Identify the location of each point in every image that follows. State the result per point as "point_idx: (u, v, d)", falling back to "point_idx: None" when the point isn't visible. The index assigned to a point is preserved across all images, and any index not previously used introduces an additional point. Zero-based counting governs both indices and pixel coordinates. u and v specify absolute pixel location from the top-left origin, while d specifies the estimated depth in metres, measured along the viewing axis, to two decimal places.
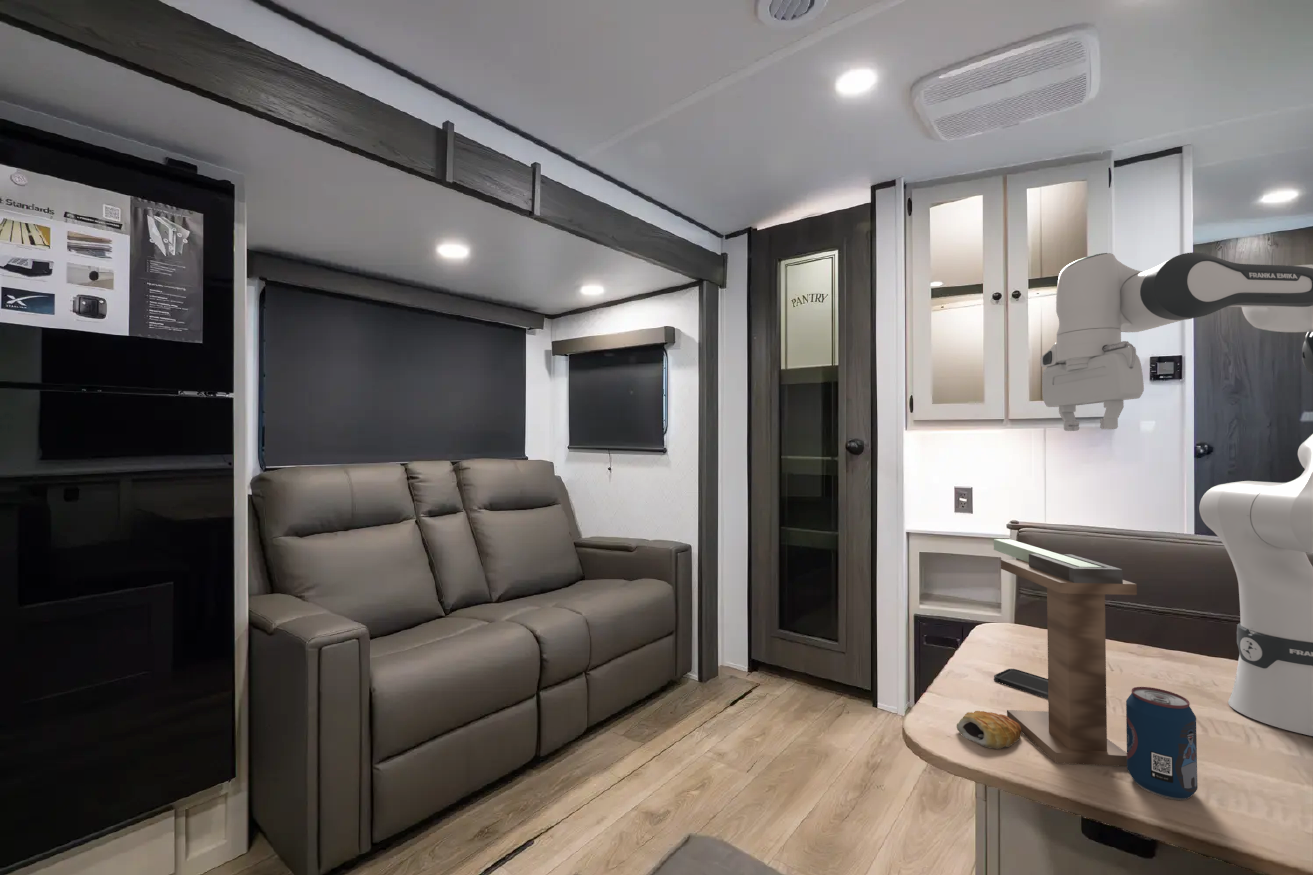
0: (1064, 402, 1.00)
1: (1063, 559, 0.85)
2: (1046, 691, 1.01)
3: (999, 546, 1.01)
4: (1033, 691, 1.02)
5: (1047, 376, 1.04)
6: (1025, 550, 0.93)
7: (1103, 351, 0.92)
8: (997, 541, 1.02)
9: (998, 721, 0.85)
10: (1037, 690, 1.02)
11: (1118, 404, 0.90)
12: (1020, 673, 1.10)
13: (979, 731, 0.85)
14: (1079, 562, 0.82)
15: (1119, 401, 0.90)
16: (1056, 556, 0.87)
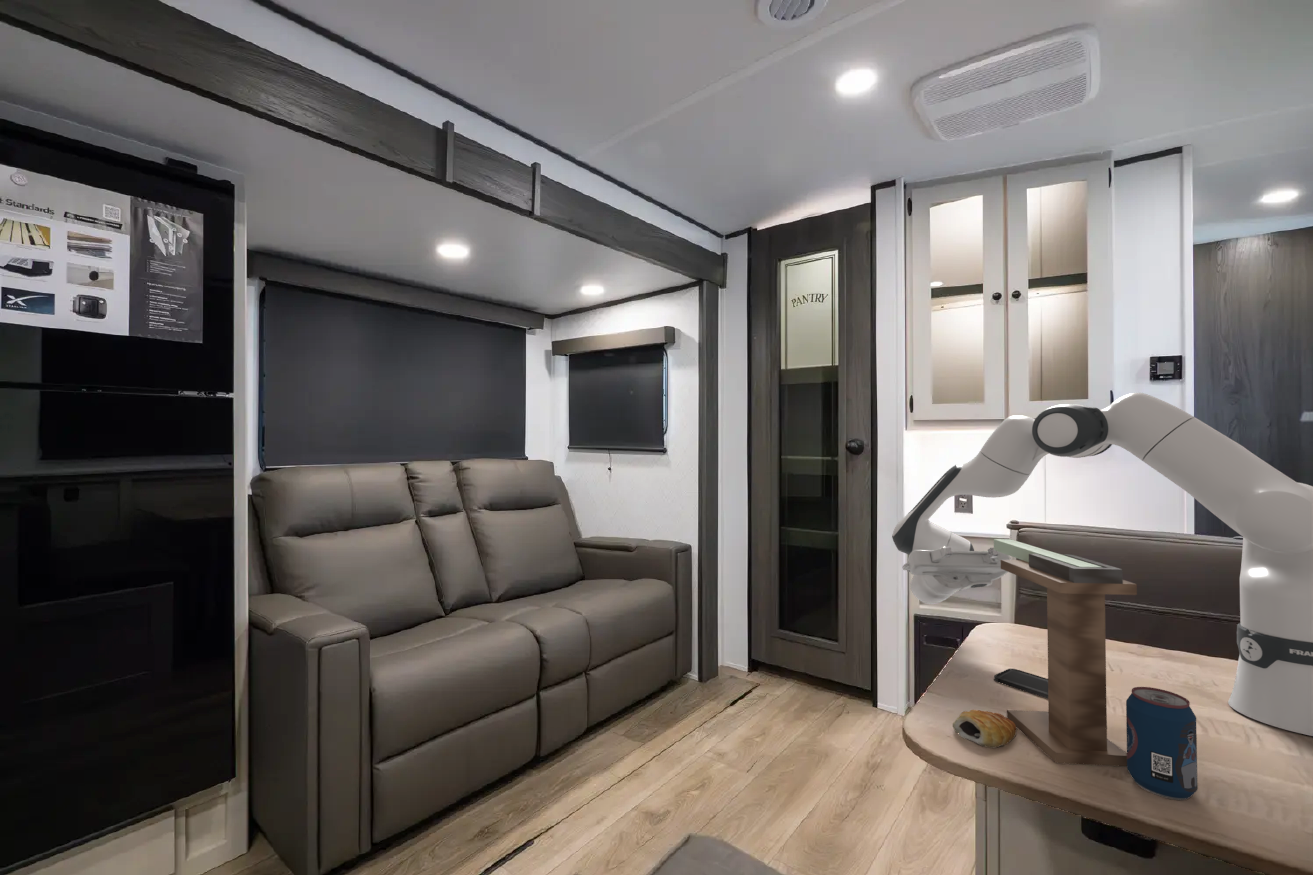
0: (982, 567, 1.18)
1: (1063, 559, 0.85)
2: (1046, 691, 1.01)
3: (999, 546, 1.01)
4: (1033, 691, 1.02)
5: (992, 577, 1.22)
6: (1025, 550, 0.93)
7: None
8: (997, 541, 1.02)
9: (994, 720, 0.86)
10: (1037, 690, 1.02)
11: (932, 554, 1.19)
12: (1020, 672, 1.10)
13: (975, 730, 0.85)
14: (1079, 562, 0.82)
15: (931, 555, 1.20)
16: (1056, 556, 0.87)
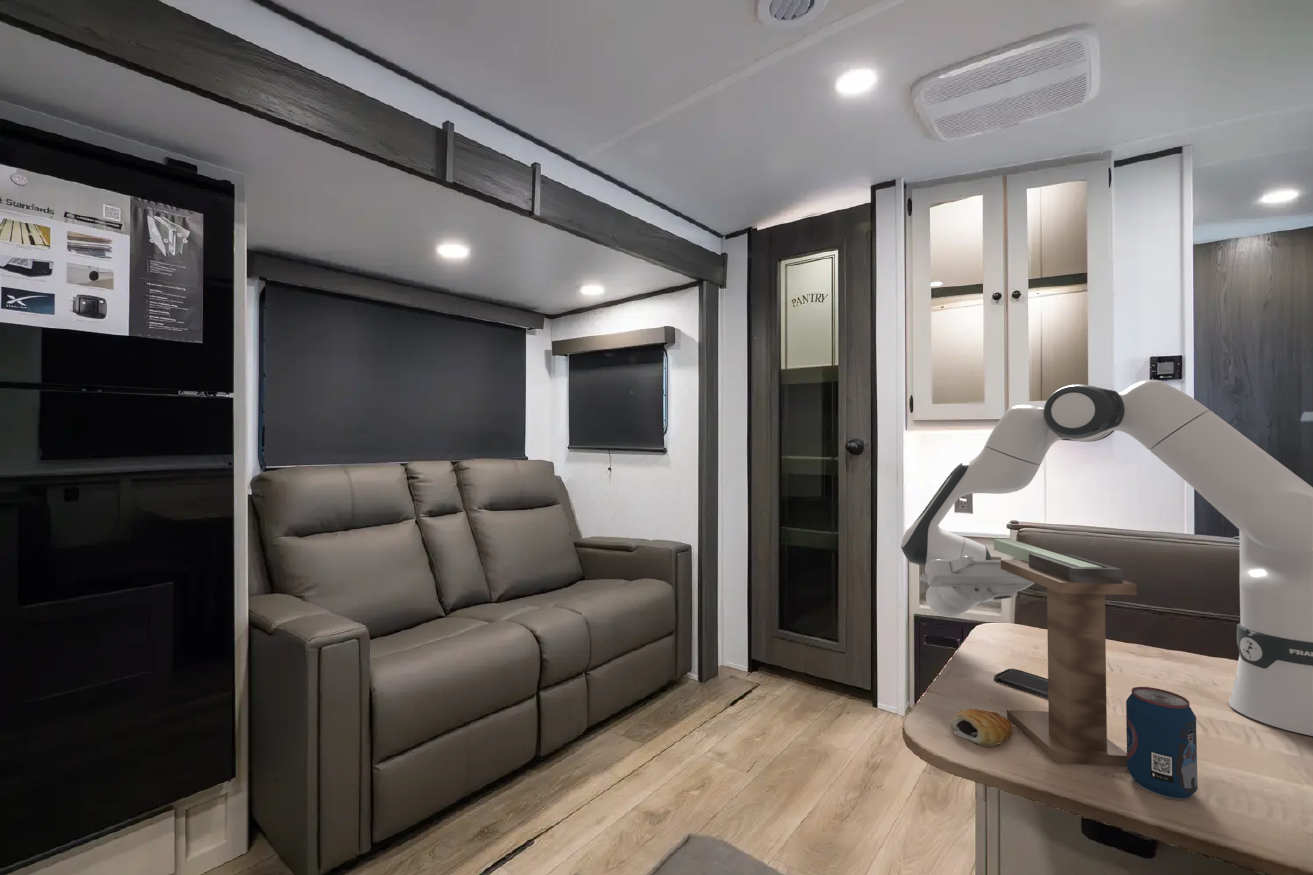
0: (1007, 577, 1.09)
1: (1063, 559, 0.85)
2: (1046, 691, 1.01)
3: (999, 546, 1.01)
4: (1033, 691, 1.02)
5: (1017, 588, 1.13)
6: (1025, 550, 0.93)
7: None
8: (997, 541, 1.02)
9: (991, 719, 0.86)
10: (1037, 690, 1.02)
11: (952, 564, 1.10)
12: (1020, 672, 1.10)
13: (973, 729, 0.85)
14: (1079, 562, 0.82)
15: (951, 565, 1.10)
16: (1056, 556, 0.87)
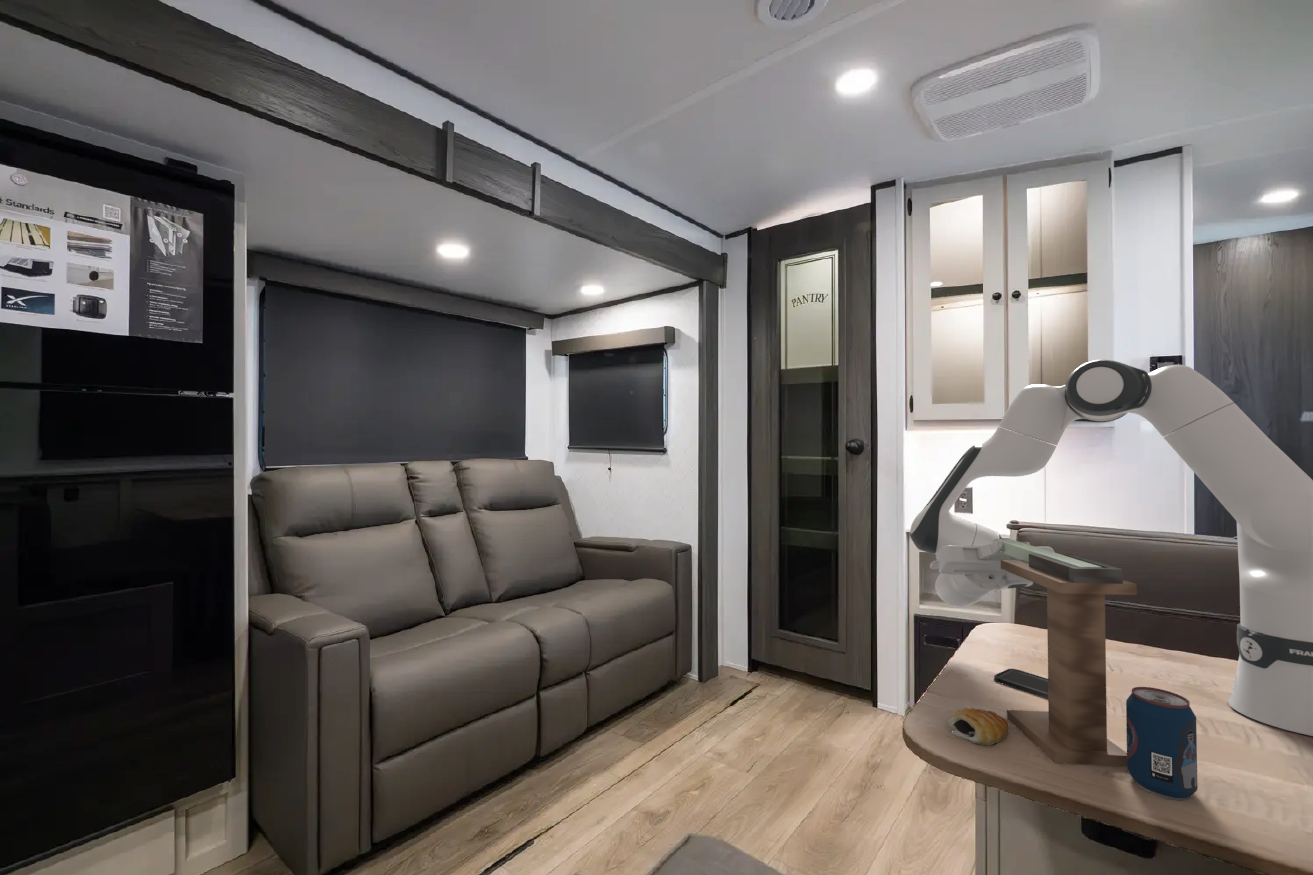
0: None
1: (1063, 559, 0.85)
2: (1046, 691, 1.01)
3: None
4: (1033, 691, 1.02)
5: None
6: (1025, 550, 0.93)
7: None
8: None
9: (988, 718, 0.86)
10: (1037, 690, 1.02)
11: (980, 551, 1.03)
12: (1020, 672, 1.10)
13: (970, 728, 0.86)
14: (1079, 562, 0.82)
15: (978, 551, 1.04)
16: (1056, 556, 0.87)
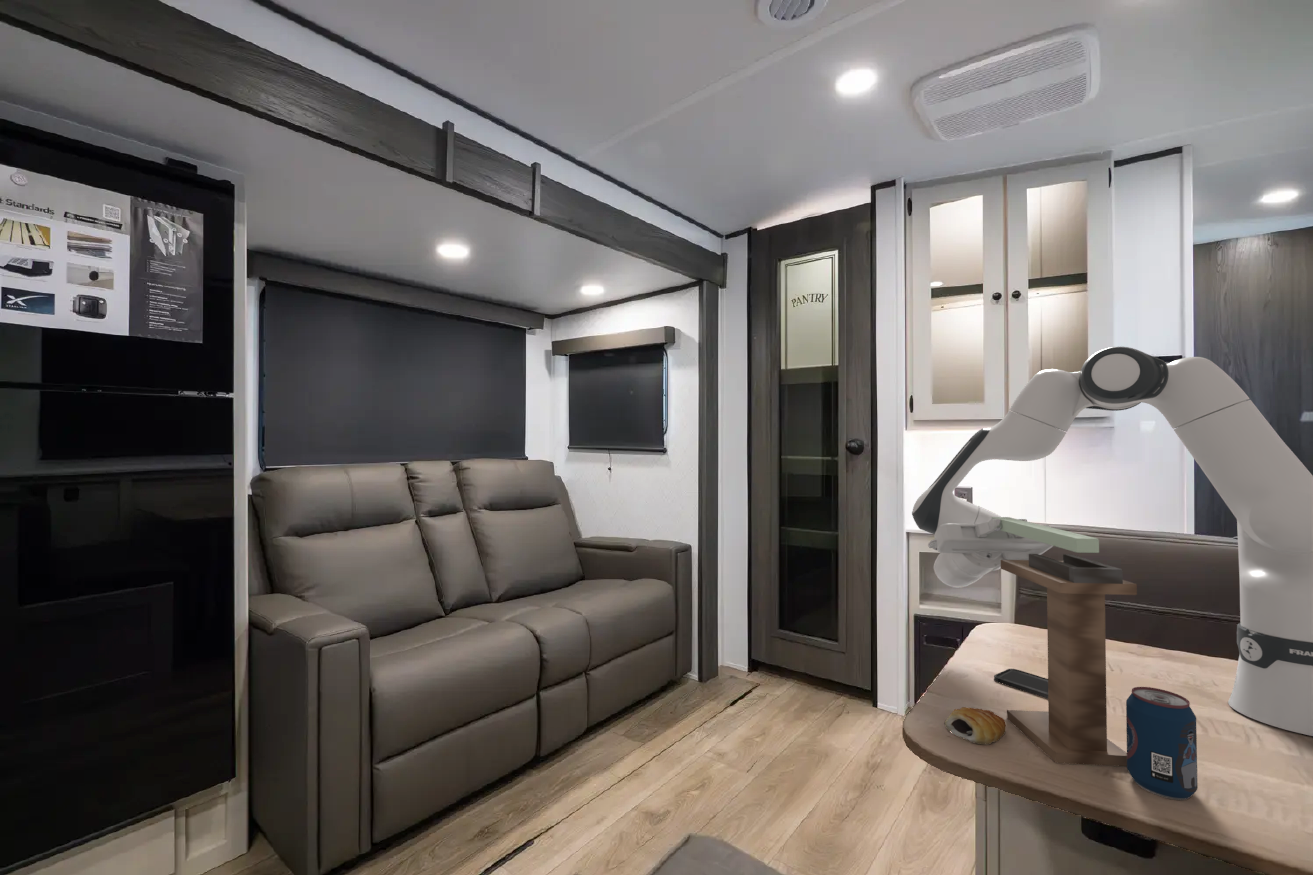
0: (1021, 542, 1.03)
1: (1060, 532, 0.85)
2: (1046, 691, 1.01)
3: None
4: (1033, 691, 1.02)
5: None
6: (1023, 526, 0.94)
7: None
8: None
9: (985, 717, 0.87)
10: (1037, 690, 1.02)
11: (978, 528, 1.04)
12: (1020, 672, 1.10)
13: (968, 728, 0.86)
14: (1076, 535, 0.83)
15: (976, 529, 1.05)
16: (1053, 530, 0.88)
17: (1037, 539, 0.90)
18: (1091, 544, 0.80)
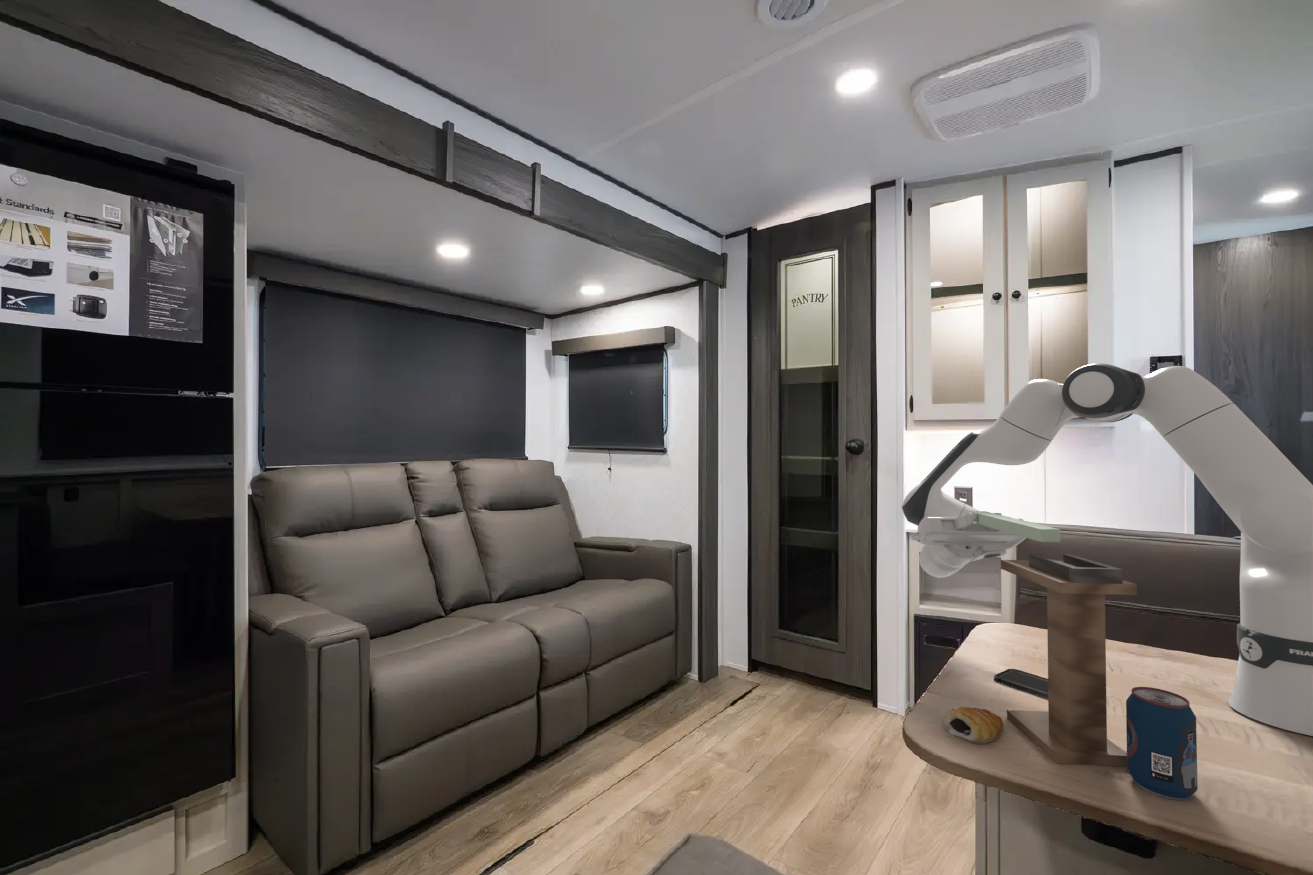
0: (996, 534, 1.12)
1: (1027, 524, 0.94)
2: (1046, 691, 1.02)
3: None
4: (1033, 691, 1.02)
5: (1007, 545, 1.16)
6: (996, 519, 1.02)
7: None
8: None
9: (983, 716, 0.87)
10: (1037, 690, 1.02)
11: (956, 522, 1.13)
12: (1020, 672, 1.10)
13: (966, 727, 0.86)
14: (1041, 526, 0.92)
15: (955, 522, 1.13)
16: (1022, 522, 0.96)
17: (1008, 530, 0.98)
18: (1053, 534, 0.89)
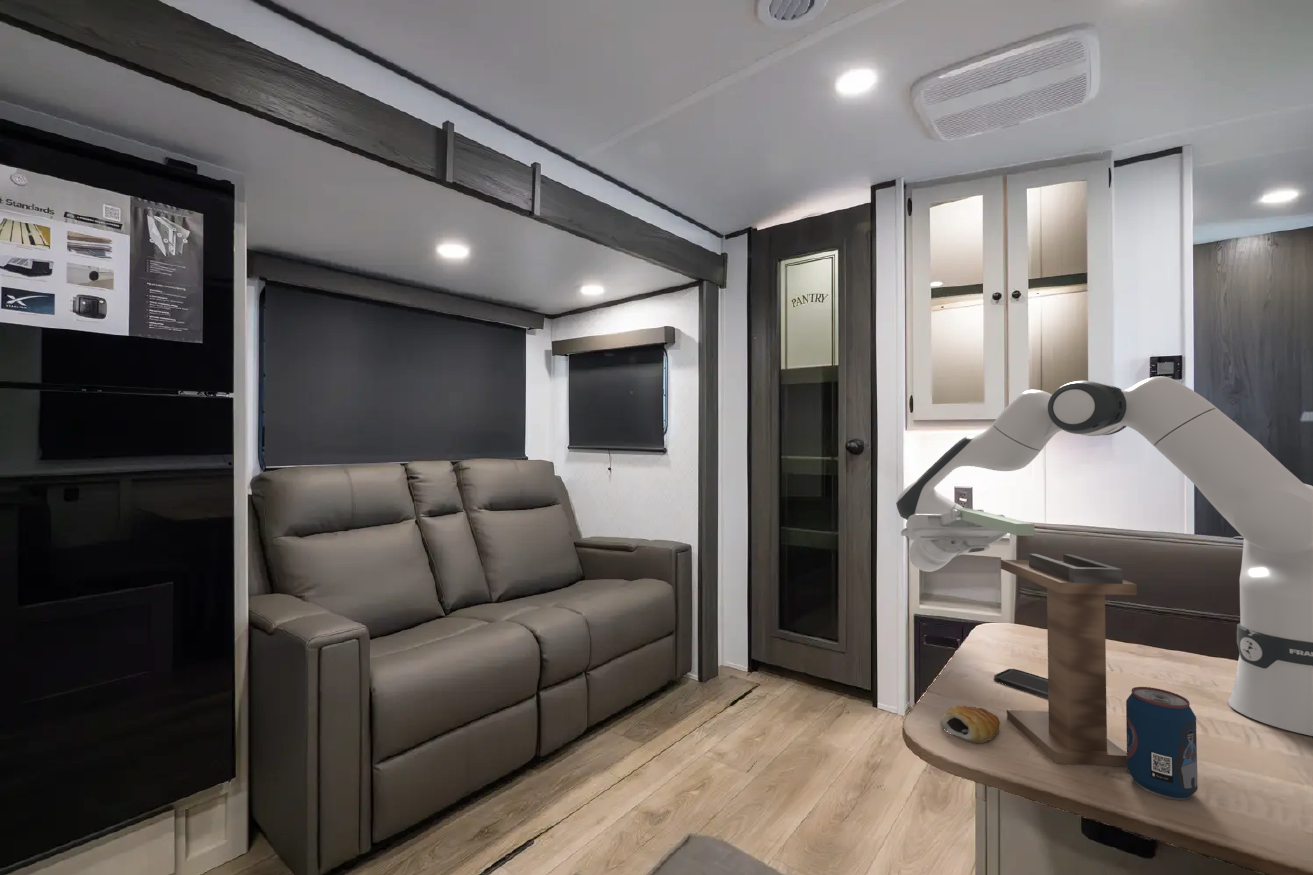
0: (979, 530, 1.19)
1: (1005, 519, 1.01)
2: (1046, 691, 1.02)
3: None
4: (1033, 691, 1.02)
5: (990, 540, 1.23)
6: (977, 515, 1.10)
7: None
8: None
9: (980, 715, 0.87)
10: (1037, 690, 1.02)
11: (942, 518, 1.20)
12: (1020, 672, 1.10)
13: (963, 726, 0.86)
14: (1017, 521, 0.99)
15: (941, 518, 1.20)
16: (1000, 518, 1.03)
17: (988, 525, 1.06)
18: (1028, 528, 0.96)
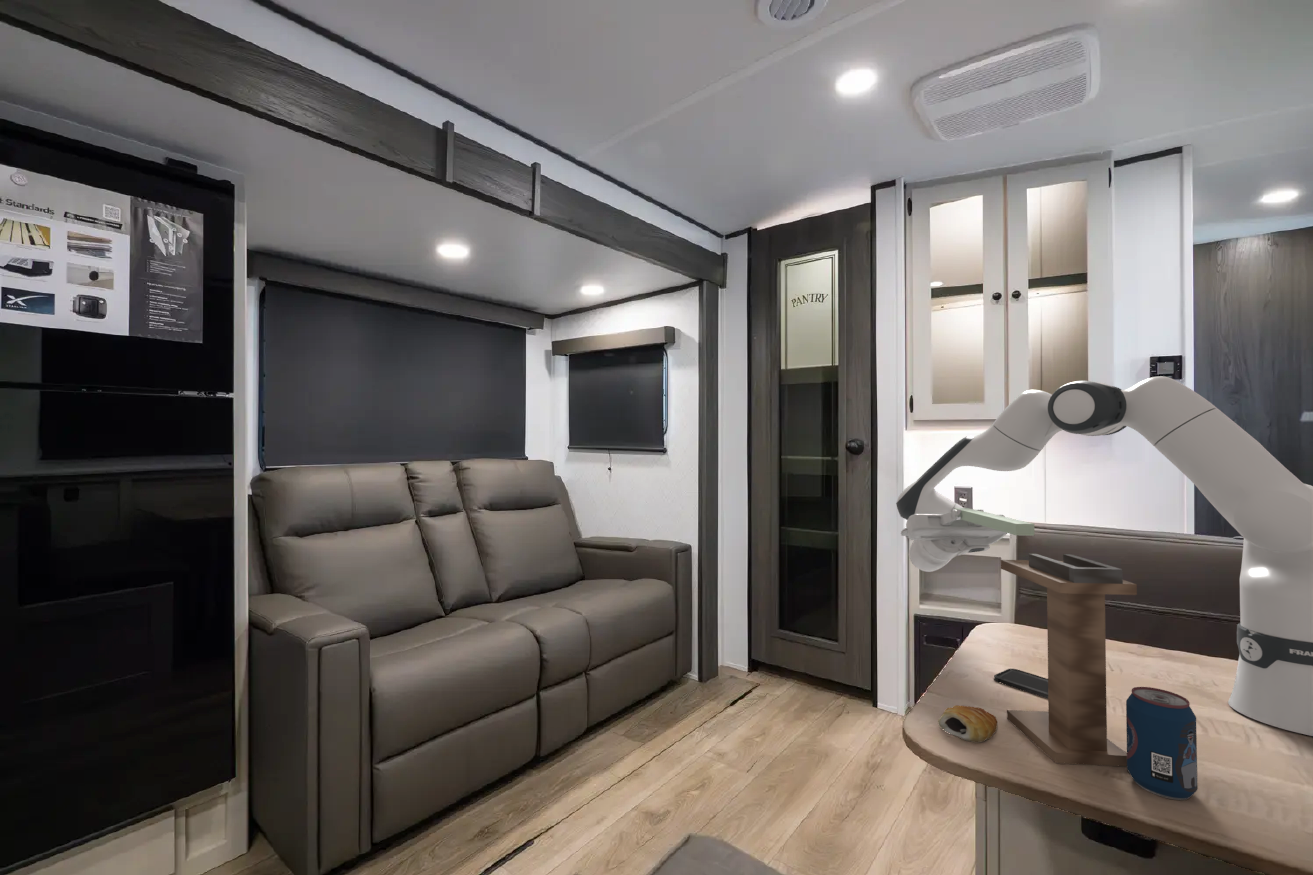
0: (979, 530, 1.19)
1: (1005, 519, 1.01)
2: (1046, 691, 1.01)
3: None
4: (1033, 691, 1.02)
5: (990, 540, 1.23)
6: (977, 515, 1.10)
7: None
8: None
9: (978, 715, 0.87)
10: (1037, 690, 1.02)
11: (942, 518, 1.20)
12: (1020, 672, 1.10)
13: (961, 726, 0.86)
14: (1017, 521, 0.99)
15: (941, 518, 1.20)
16: (1000, 518, 1.03)
17: (988, 525, 1.06)
18: (1028, 528, 0.96)
